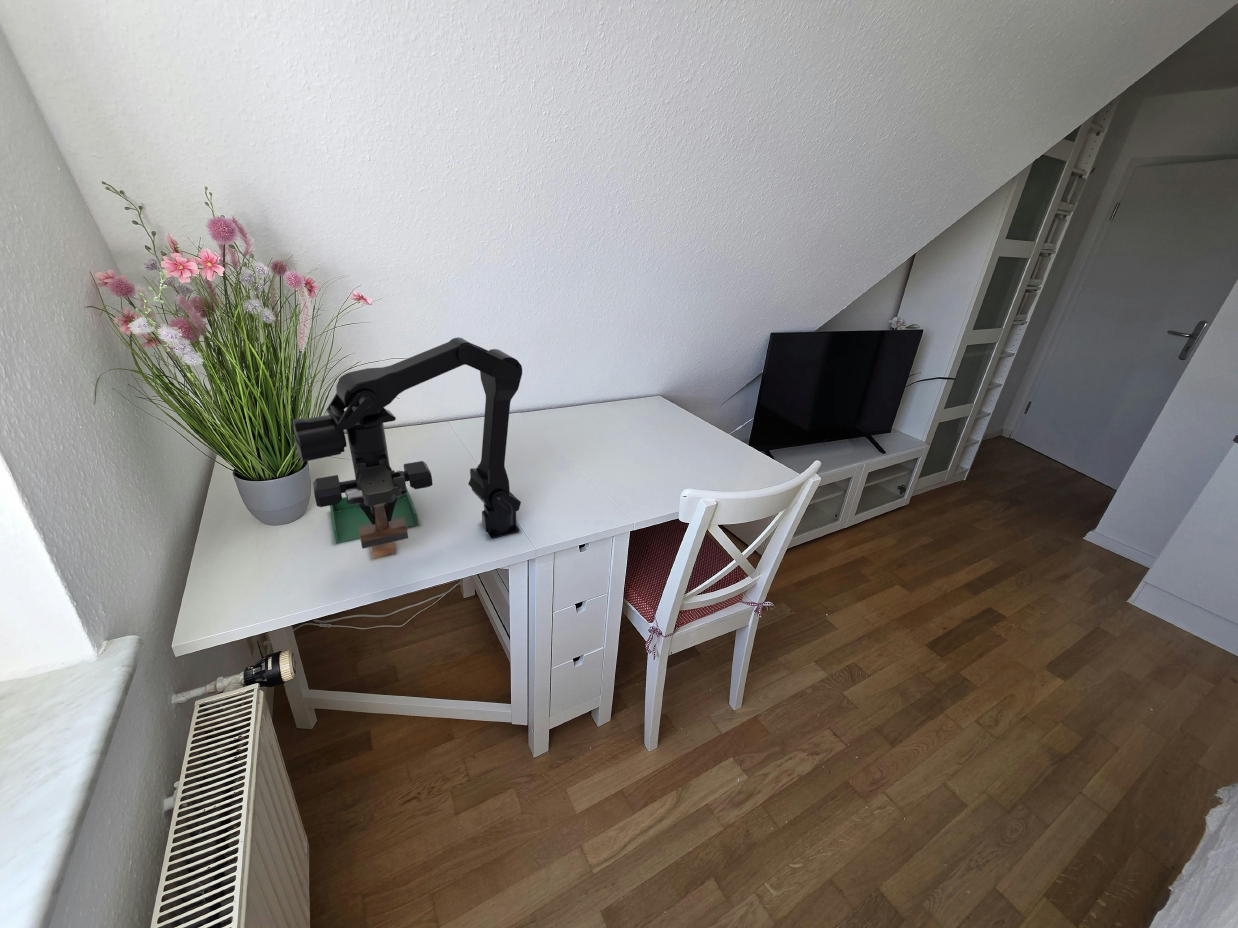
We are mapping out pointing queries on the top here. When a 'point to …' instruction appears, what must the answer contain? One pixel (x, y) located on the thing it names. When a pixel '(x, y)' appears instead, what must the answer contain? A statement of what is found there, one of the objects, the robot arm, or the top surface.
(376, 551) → the brown wooden cube
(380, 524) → the brush
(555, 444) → the top surface
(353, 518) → the dustpan
